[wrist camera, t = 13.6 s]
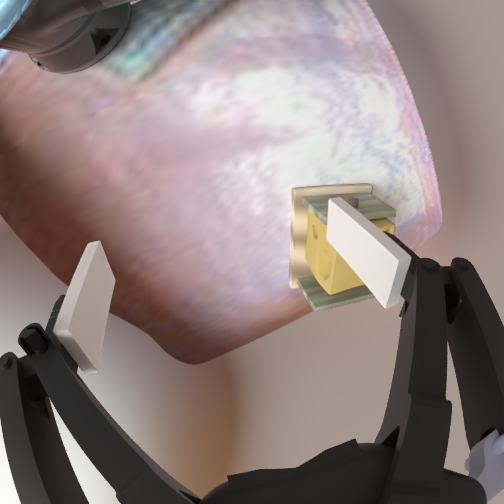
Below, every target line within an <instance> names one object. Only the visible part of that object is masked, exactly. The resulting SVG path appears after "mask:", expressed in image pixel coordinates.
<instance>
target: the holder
mask: <svg viewBox="0 0 504 504" xmlns="http://www.w3.org/2000/svg"><path fill="white" fill-rule="evenodd" d="M371 192H372V186H371V185H369V184H367V183H365V184H345V185H328V186H313V187H300V188H292V211H291V243H290V268H289V285H290V287H291V289H293V288H298V287H300V289H301V291H302V292H303V294H304V296H305V297H306V299H307V301H308V302H309V304H310V306H311V307H312V309H313V311H314V312H319V311H324V310H328V309H332V308H336V307H340V306H344V305H348V304H351V303H355V302H359V301H363V300H367V299H370V298H374V297H375V296H374V295H373V293H372V292H371V291H370V290H369V288H368V287H367V286H366V285H365V284H364V285H360V286H357V287H353V288H349V289H347V290H344V291H341V292H338V293H335V294H332V295H330V294H328V293H327V292H326V291H325V290H324V288H323V287H322V286H321V285H320V284H319V283H318V281H317V280H316V278H315V276H314V275H313V273H312V271H311V269H310V267H309V265H308V263H307V260H306V258H305V252H306V241H307V226H308V216H307V209H308V210H309V211H310V212H312V213H313V214H314V215H315V216H316V217H317V218H318V219H319V220H320V221H321V222H322V223H323V224H324V225H327V220H328V202H329V198H336V197H341V198H342V199H343V200H344V201H346V202H347V203H348V204H350V205H351V206H352V207H353V208H355V209H356V210H357V211H358V212H360V213H361V214H362V215H363V216H365V217H366V218H367V219H368V220H370V219H378V218H387V217H395V215H396V210H395V209H393V208H392V207H390V206H389V205H387V204H386V203H384V202H382V201H381V200H379V199H378V198H376V197H374V196H373V195H371Z"/></svg>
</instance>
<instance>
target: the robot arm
mask: <svg viewBox="0 0 504 504" xmlns="http://www.w3.org/2000/svg"><path fill="white" fill-rule="evenodd" d="M131 1H136V0H0V48H1V49H7V50H13V51H19V52H24V53H27V54H28V55H29V57H30V58H31V60H32V61H33V62H34V63H35V64H36V65H37V66H38V67H40V68H41V69H43V70H46V71H49V72H54V73H62V74H65V73H73V72H77V71H80V70H83V69H86V68H88V67H90V66H92V65H93V64H95V63H97V62H98V61H100V60H101V59H102V58H104V57H105V56H106V55H107V54H108V53H109V52H110V51H111V50H112V49H113V48H114V47H115V46H116V45H117V43H118V42H119V41H120V39H121V38H122V36H123V34H124V33H125V31H126V28H127V26H128V23H129V20H130V15H131V4H130V2H131ZM326 239H327V241H328V242H329V243H330V244H331V245H332V246H333V247H334V248H335V250H336V251H337V252H338V253H339V254H340V255H341V256H342V258H343V259H344V260H345V261H346V262H347V263H348V265H349V266H350V267H351V268H352V269H353V270H354V272H355V273H356V274H357V275H358V276H359V278H360V279H361V280H362V281H363V282H364V284H365V285H366V286H367V287H368V288H369V290H370V291H371V292H372V293H373V295H374V296H375V297H376V298H377V300H378V301H379V302H380V303H381V304H382V306H383V307H384V308H385V309H387V308H389V307H392V306H395V305H397V304H398V301H399V298H400V295H401V296H402V297H403V298H404V299H405V301H404V304H403V307H402V310H401V313H400V315H399V317H401V316H402V320H401V329H400V337H399V344H398V351H397V357H396V363H395V369H394V375H393V380H392V385H391V390H390V394H389V399H388V403H387V408H386V412H385V416H384V420H383V423H382V426H381V429H380V431H379V433H378V435H377V437H376V439H375V442H374V443H357V441H356V439H353V440H350V441H347V442H345V443H342V444H340V445H338V446H335V447H332V448H329V449H327V450H325V451H323V452H322V453H320V454H319V455H317V456H316V457H314V458H312V459H311V460H309V461H308V462H306V463H304V464H302V465H300V466H299V467H296V468H286V469H259V470H254V471H250V472H245V473H240V474H235V475H229V476H227V478H228V481H227V482H225V483H222V484H221V485H219V486H217V487H216V488H214V489H213V490H211V491H210V492H209V493H208V494H207V495H205V497H204V498H203V499H200V498H199V497H198V496H197V495H195V494H194V493H193V492H191V491H190V490H189V489H187V488H186V487H184V486H183V485H181V484H180V483H179V482H177V481H176V480H175V479H174V478H173V477H171V476H170V475H169V474H168V473H167V472H166V471H165V470H163V469H162V468H161V467H160V466H159V465H158V464H157V463H156V462H154V461H153V460H152V459H151V458H150V457H149V456H148V455H147V454H146V453H145V452H144V451H143V450H142V449H141V448H140V447H139V446H138V445H137V444H136V443H135V442H134V441H133V440H132V439H131V438H130V437H129V436H128V435H127V434H126V432H125V431H124V430H123V429H122V428H121V427H120V426H119V425H118V424H117V423H116V421H115V420H114V419H113V418H112V417H111V416H110V414H109V413H108V412H107V411H106V410H105V409H104V407H103V406H102V405H101V404H100V402H99V401H98V400H97V399H96V397H95V396H94V395H93V394H92V392H91V391H90V390H89V388H88V387H87V386H86V384H85V383H84V382H83V380H82V379H81V378H80V376H79V375H78V374H77V369H78V366H79V367H80V368H81V370H82V371H83V372H84V373H85V374H86V373H98V372H99V366H100V359H101V352H102V346H103V340H104V334H105V328H106V322H107V317H108V312H109V307H110V302H111V298H112V293H113V289H114V284H115V278H114V276H113V273H112V271H111V268H110V266H109V263H108V261H107V258H106V255H105V253H104V250H103V248H102V245H101V242H100V241H96V242H91V243H88V245H87V247H86V249H85V251H84V253H83V255H82V258H81V260H80V262H79V264H78V267H77V269H76V271H75V274H74V276H73V278H72V281H71V283H70V286H69V288H68V291H67V293H66V295H61V296H60V298H59V299H58V300H57V301H56V303H55V305H54V307H53V310H52V311H53V312H52V313H51V316H50V319H49V321H48V324H47V326H46V329H45V331H44V329H43V328H42V326H41V325H40V324H38V323H32V324H30V325H28V326H26V327H25V328H24V329H23V330H22V331H21V333H20V335H19V338H18V343H19V345H20V346H21V347H22V348H23V350H24V351H25V352H26V354H27V355H26V356H24V357H21V358H19V359H18V357H17V356H16V355H15V354H14V353H13V352H8V353H5V354H4V355H2V356H1V358H0V419H1V426H2V432H3V438H4V443H5V448H6V453H7V458H8V462H9V466H10V469H11V473H12V477H13V480H14V484H15V487H16V490H17V493H18V496H19V499H20V502H21V504H89V502H88V500H87V498H86V496H85V494H84V492H83V490H82V488H81V486H80V484H79V482H78V479H77V477H76V475H75V473H74V471H73V468H72V466H71V463H70V460H69V458H68V455H67V453H66V450H65V447H64V445H63V442H62V439H61V436H60V433H59V430H58V427H57V424H56V420H55V417H54V414H53V410H52V407H51V403H50V400H51V402H52V403H53V405H54V407H55V409H56V410H57V412H58V414H59V415H60V417H61V418H62V420H63V422H64V423H65V425H66V426H67V428H68V430H69V431H70V433H71V434H72V436H73V437H74V439H75V440H76V441H77V443H78V444H79V446H80V447H81V449H82V450H83V451H84V453H85V454H86V455H87V457H88V458H89V459H90V461H91V462H92V463H93V465H94V466H95V467H96V468H97V470H98V471H99V472H100V473H101V474H102V476H103V477H104V478H105V479H106V480H107V481H108V483H109V484H110V485H111V486H112V487H113V489H114V490H115V491H116V497H117V499H118V501H119V502H120V503H121V504H487V502H488V501H489V500H491V499H492V498H493V497H494V496H496V495H497V494H498V493H499V492H500V491H501V490H503V489H504V326H503V324H502V321H501V319H500V317H499V315H498V313H497V310H496V308H495V306H494V304H493V302H492V300H491V298H490V296H489V294H488V292H487V290H486V288H485V286H484V284H483V282H482V280H481V279H480V277H479V275H478V273H477V271H476V270H475V268H474V266H473V265H472V264H471V262H469V261H468V260H467V259H464V258H459V257H456V258H454V259H453V260H452V263H451V265H450V266H444V267H443V266H442V267H441V266H440V265H439V264H438V262H436V261H434V260H432V259H429V258H419V257H418V256H417V255H416V254H415V253H414V252H413V251H411V250H410V249H409V248H408V247H407V246H405V244H403V243H402V242H401V241H400V240H399V239H398V238H396V237H395V236H394V235H392V234H390V233H388V232H386V231H381V230H380V229H379V228H378V227H377V226H375V225H374V224H373V223H372V222H371V221H369V220H368V219H367V218H366V217H365V216H363V215H362V214H361V213H360V212H358V211H357V210H356V209H355V208H353V207H352V206H351V205H350V204H348V203H347V202H346V201H344V200H343V199H342V198H341V197H336V198H329V202H328V220H327V236H326ZM447 340H448V344H449V348H450V352H451V355H452V359H453V364H454V368H455V372H456V377H457V382H458V387H459V392H460V398H461V404H462V410H463V417H464V424H465V431H466V437H467V441H468V445H469V448H470V454H469V458H468V459H467V460H466V462H465V469H466V470H467V471H469V475H468V476H466V475H463V474H459V473H457V472H453V471H451V470H447V469H445V468H443V467H444V463H445V457H446V452H447V446H448V439H449V432H450V424H451V415H452V403H451V401H449V400H446V381H447ZM49 398H50V399H49Z"/></svg>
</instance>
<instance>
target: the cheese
mask: <svg viewBox="0 0 504 504" xmlns="http://www.w3.org/2000/svg"><path fill="white" fill-rule="evenodd" d="M307 216H308V226H307V241H306V252H305V258H306V260H307V263H308V265H309V267H310V269H311V271H312V273H313V275H314V276H315V278H316V280H317V281H318V283H319V284H320V285H321V286H322V287H323V288H324V290H325V291H326V292H327V293H328V294H330V295H332V294H335V293H338V292H341V291H344V290H347V289H349V288H353V287H357V286H360V285H364V282H363V281H362V280H361V279H360V278H359V276H358V275H357V274H356V273H355V272H354V270H353V269H352V268H351V267H350V266H349V265H348V263H347V262H346V261H345V260H344V259H343V258H342V256H341V255H340V254H339V253H338V252H337V251H336V250H335V248H334V247H333V246H332V245H331V244H330V243H329V242H328V241H327V239H326V236H327V225H324V224H323V223H322V222H321V221H320V220H319V219H318V218H317V217H316V216H315V215H314V214H313V213H312V212H310V211H309V210H308V209H307ZM369 221H371V222H372V223H373V224H374V225H375V226H377V227H378V228H379V229H380V230H381V231H386V232H388V233H390V234H392V235H393V233H394V229H395V224H393V223H392V222H391V221H390V220H388V219H387V218H378V219H370V220H369Z"/></svg>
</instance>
